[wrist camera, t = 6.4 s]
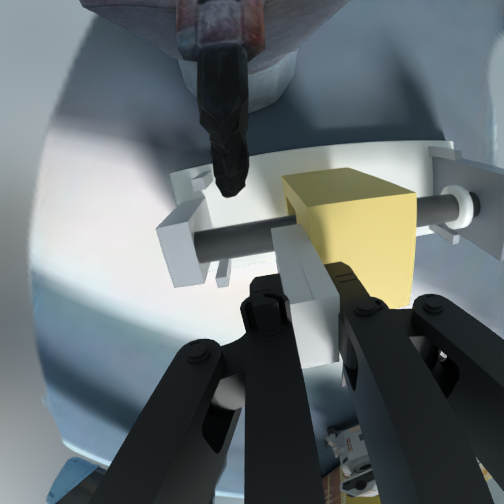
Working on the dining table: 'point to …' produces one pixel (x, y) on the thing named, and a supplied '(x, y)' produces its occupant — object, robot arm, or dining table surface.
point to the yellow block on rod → (359, 226)
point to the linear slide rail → (275, 215)
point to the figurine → (353, 462)
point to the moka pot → (226, 59)
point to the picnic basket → (338, 499)
